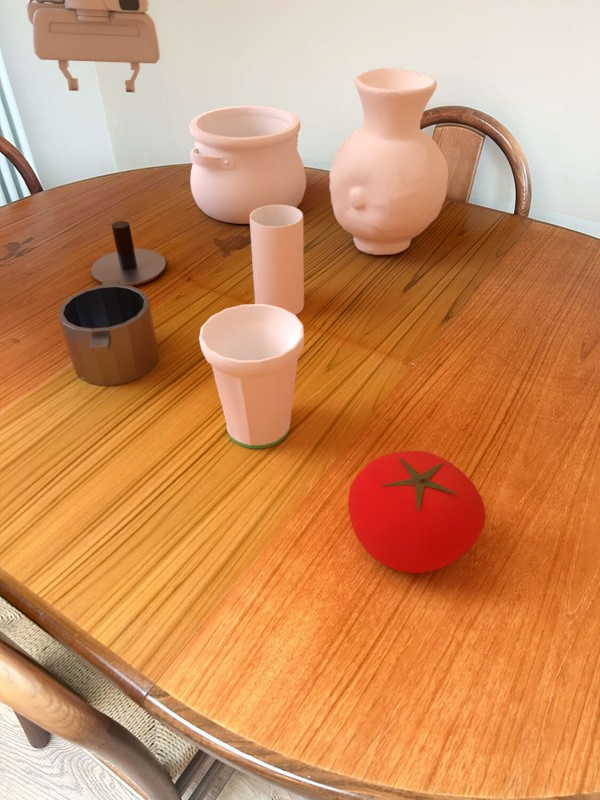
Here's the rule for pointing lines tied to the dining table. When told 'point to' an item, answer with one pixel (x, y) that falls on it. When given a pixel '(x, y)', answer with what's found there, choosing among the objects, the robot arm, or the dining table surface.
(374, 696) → the dining table surface
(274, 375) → the cup
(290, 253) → the cup
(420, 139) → the vase
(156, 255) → the lid
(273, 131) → the pot
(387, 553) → the tomato
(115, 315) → the cooker
